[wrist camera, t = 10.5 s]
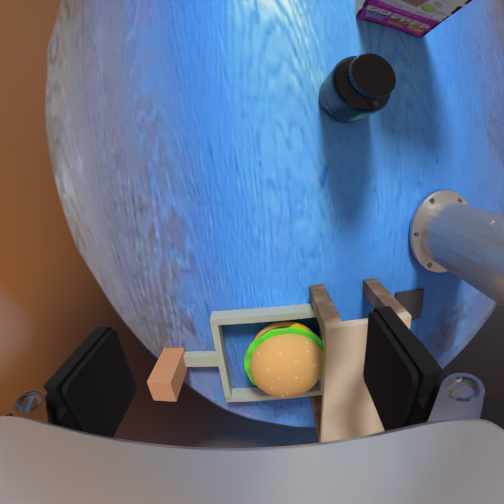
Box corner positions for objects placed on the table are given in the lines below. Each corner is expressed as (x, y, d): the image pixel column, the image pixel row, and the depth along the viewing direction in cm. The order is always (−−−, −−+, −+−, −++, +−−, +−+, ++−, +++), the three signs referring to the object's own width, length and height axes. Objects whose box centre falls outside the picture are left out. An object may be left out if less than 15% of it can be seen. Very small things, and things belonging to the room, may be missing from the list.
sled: (326, 301, 42) (340, 333, 33) (324, 384, 46) (333, 421, 38) (155, 313, 43) (134, 344, 35) (177, 392, 48) (165, 427, 39)
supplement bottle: (360, 130, 35) (399, 117, 24) (312, 114, 35) (334, 91, 24) (370, 86, 34) (409, 60, 22) (323, 69, 33) (347, 34, 22)
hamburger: (231, 332, 44) (225, 366, 36) (305, 299, 42) (314, 329, 34) (266, 385, 46) (267, 422, 38) (333, 358, 45) (345, 392, 36)
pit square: (422, 288, 41) (423, 289, 41) (418, 316, 42) (419, 317, 42) (395, 292, 41) (396, 293, 41) (392, 321, 43) (393, 322, 42)
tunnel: (375, 278, 41) (411, 316, 29) (364, 389, 46) (384, 437, 35) (309, 285, 41) (326, 329, 30) (310, 397, 47) (319, 450, 35)
